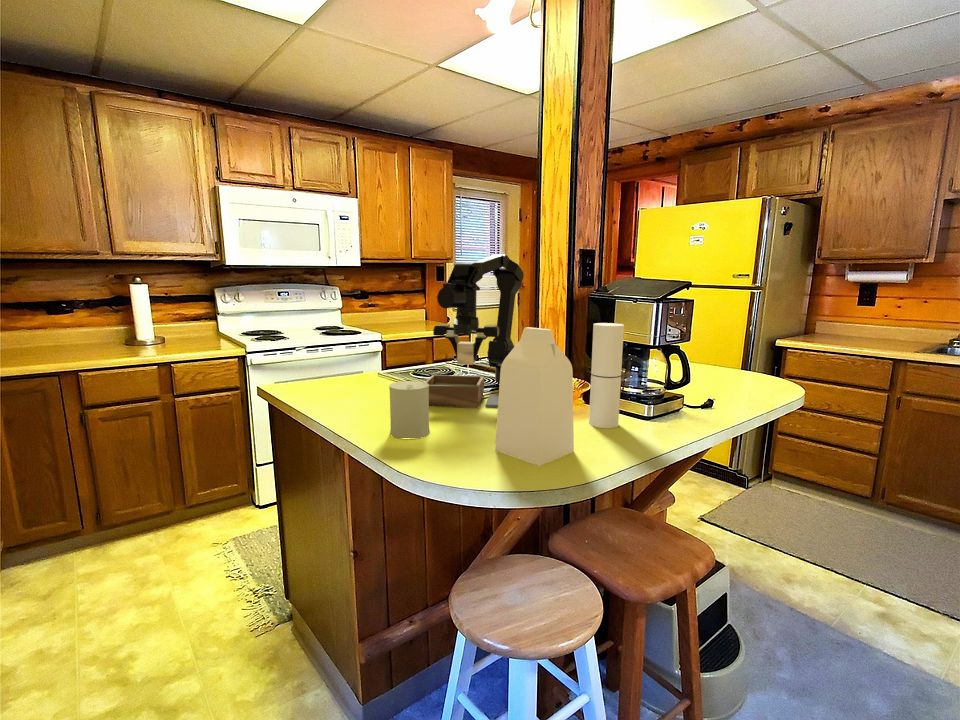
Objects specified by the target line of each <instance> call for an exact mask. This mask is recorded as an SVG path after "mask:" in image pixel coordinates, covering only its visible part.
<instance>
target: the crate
mask: <svg viewBox="0 0 960 720" xmlns="http://www.w3.org/2000/svg"><path fill="white" fill-rule="evenodd" d="M424 382H425V383H428V384H429V407H434V408H435V407H436V408H460V409H462V408H463V409H465V408H466V409H479V406H480V405H481V402H482V400H483V398H484V396H483V392H484V393H485V376H484V375H483V376H481V375H479V376H478V375H477V376H476V375H450V374H449V375H447V374H431V376H430V377H428V379H426V380H425V381H424ZM482 397H483V398H482Z"/></svg>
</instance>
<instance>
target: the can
mask: <svg viewBox="0 0 960 720" xmlns="http://www.w3.org/2000/svg"><path fill="white" fill-rule="evenodd" d="M388 388H389V408H390V409H389V410H390V412H389V415H390V416H389V417H390V431H389V434H390V436H391V435H392V436H394V437H397V438H396V439H398V438H418V439H422V438H421V437H423V438H425V437H427V436H428V434H429V435H430V432H431V429H430V413H429V412H430V406H429V384H428V383H425V381H418V380H417V381H416V380H405V381H397V382H392V383H391V384H389V385H388ZM392 436H391V437H392ZM424 436H425V437H424ZM394 437H393V438H394Z"/></svg>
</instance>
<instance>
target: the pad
mask: <svg viewBox="0 0 960 720" xmlns="http://www.w3.org/2000/svg"><path fill="white" fill-rule="evenodd" d="M498 399H499V394H492V393H491V394H489V395H488V398H487V400H486V403H485V408H494V409H498Z"/></svg>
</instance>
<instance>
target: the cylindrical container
mask: <svg viewBox="0 0 960 720" xmlns="http://www.w3.org/2000/svg"><path fill="white" fill-rule="evenodd" d="M624 328H625V325H624V324H623V323H615V322H614V323H613V322H609V323H608V322H597V323H593V329H592V347H591V348H592V349H591V350H592V351H591V373H590V374H591V375H590V395H589V412H588V413H589V414H588V416H589V417H588V423H589V424H588V425H590V426H592V427H595V428H600V429H614V428H617V427H618V426H619V422H620V421H619V418H620V417H619V416H620V402H621V401H620V399H621V383H622V368H623V367H622V364H623V350H624V349H623V347H624V333H625V331H624V330H625V329H624Z"/></svg>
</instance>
